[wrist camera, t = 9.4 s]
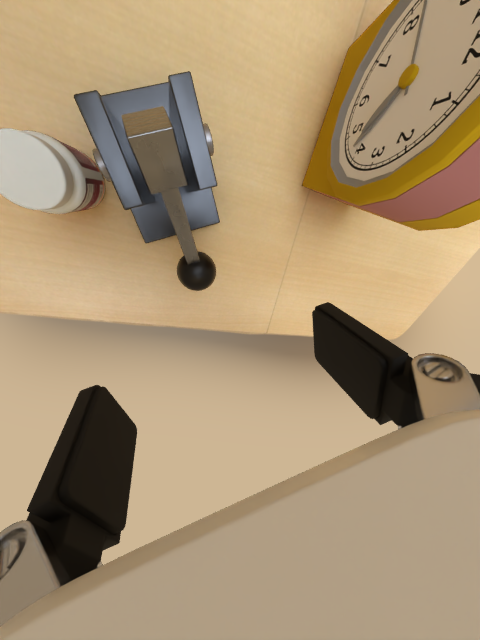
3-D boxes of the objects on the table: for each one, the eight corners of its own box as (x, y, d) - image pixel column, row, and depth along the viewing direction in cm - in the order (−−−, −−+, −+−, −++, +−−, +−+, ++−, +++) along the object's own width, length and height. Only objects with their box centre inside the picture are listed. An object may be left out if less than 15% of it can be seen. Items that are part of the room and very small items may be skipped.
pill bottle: (30, 151, 18) (-58, 123, 11) (90, 143, 19) (44, 112, 12) (61, 214, 21) (6, 223, 14) (115, 205, 22) (87, 209, 15)
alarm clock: (351, 16, 20) (1011, -644, 4) (412, 65, 23) (937, -221, 7) (290, 200, 26) (473, 205, 10) (345, 220, 29) (552, 248, 13)
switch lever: (212, 264, 24) (223, 291, 22) (179, 274, 23) (187, 302, 22) (174, 97, 12) (190, 129, 10) (105, 112, 11) (112, 147, 10)
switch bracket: (218, 221, 25) (255, 240, 14) (146, 241, 24) (126, 278, 13) (183, 84, 19) (199, -65, 8) (87, 104, 18) (-38, -34, 7)
